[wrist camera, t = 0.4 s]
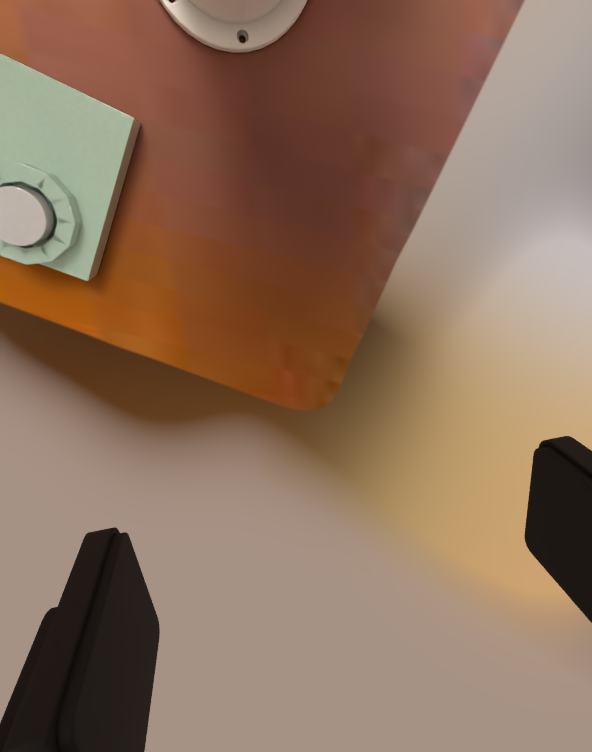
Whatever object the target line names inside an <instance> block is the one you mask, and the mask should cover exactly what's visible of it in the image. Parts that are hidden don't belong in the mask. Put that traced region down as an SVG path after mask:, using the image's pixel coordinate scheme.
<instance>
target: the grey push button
mask: <svg viewBox="0 0 592 752" xmlns="http://www.w3.org/2000/svg"><path fill="white" fill-rule="evenodd" d="M53 225H54V217H53V212H52V210H51V207H50V205H49V204H48V202H47V201H46V200H45V199H44V198H43V197H42V196H41V195H40V194H39V193H37V192H36V191H34V190H32V189H30V188H27V187H23V186H3V187H0V239H1V240H3V241H4V242H6V243H9V244H12V245H16V246H28V245H32V244H35V243H38V242H41V241H43V240H44V239H46V238H47V237H48V236H49V234H50V233H51V231H52V229H53Z"/></svg>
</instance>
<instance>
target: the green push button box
mask: <svg viewBox="0 0 592 752" xmlns="http://www.w3.org/2000/svg"><path fill="white" fill-rule="evenodd" d="M139 128H140V123H139V122H138V121H137V120H136V119H135V118H133V117H131V116H129V115H127V114H125V113H123V112H121V111H119V110H117V109H115V108H113V107H111V106H108V105H106V104H104V103H102V102H100V101H98V100H96V99H94V98H92V97H90V96H88V95H86V94H84V93H81V92H79V91H77V90H75V89H73V88H71V87H69V86H67V85H65V84H63V83H61V82H59V81H57V80H55V79H52V78H50V77H48V76H46V75H44V74H42V73H40V72H38V71H36V70H34V69H32V68H30V67H28V66H26V65H23V64H21V63H19V62H17V61H15V60H13V59H11V58H9V57H7V56H5V55H3V54H1V53H0V187H3V186H23V187H27V188H30V189H32V190H34V191H36V192H37V193H39V194H40V195H41V196H42V197H43V198H44V199H45V200H46V201H47V202H48V204H49V205H50V207H51V210H52V212H53V217H54V225H53V229H52V231H51V233H50V234H49V236H48V237H47V238H46V239H44V240H43V241H41V242H38V243H35V244H32V245H28V246H16V245H12V244H9V243H6V242H4V241H3V240H1V239H0V255H1V256H3V257H6V258H8V259H11V260H14V261H17V262H19V263H22V264H25V265H30V264H38V263H39V264H41V265H44V266H47V267H50V268H52V269H55V270H58V271H60V272H63V273H66V274H69V275H71V276H74V277H77V278H80V279H82V280H85V281H89V280H90V279H92V278H93V277H94V276H96V275H97V273H98V270H99V266H100V263H101V259H102V256H103V253H104V249H105V246H106V242H107V239H108V235H109V232H110V228H111V225H112V221H113V218H114V214H115V211H116V207H117V204H118V200H119V197H120V194H121V190H122V187H123V183H124V180H125V176H126V173H127V169H128V166H129V162H130V159H131V155H132V152H133V148H134V145H135V142H136V138H137V135H138V131H139Z"/></svg>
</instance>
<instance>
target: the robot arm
mask: <svg viewBox="0 0 592 752" xmlns="http://www.w3.org/2000/svg"><path fill="white" fill-rule="evenodd" d="M160 2H161V4H162V5H163V6H164V8H165V9H166V10H167V12H168V13H169V15H170V16H171V17H172V19H173V20H174V21H175V22H176V23H177V24H178V25H179V26H180V27H181V28H182V29H183V30H184V31H185V32H186V33H188V34H189V35H191V36H192V37H194V38H195V39H196V40H198V41H199V42H201V43H203V44H205V45H208V46H210V47H212V48H215V49H217V50H222V51H227V52H232V53H233V52H250V51H254V50H258V49H261V48H264V47H266V46H267V45H269V44H271V43H273V42H275V41H276V40H278V39H279V38H280V37H281V36H282V35H284V34H285V33H286V32H287V31H288V30H289V29H290V28H291V26H292V25H293V24H294V22H295V21H296V20H297V19H298V17H299V15H300V13H301V12H302V10H303V8H304V6H305V4H306V2H307V0H176V1H175V2H174V3H171V2H170V1H169V0H160ZM241 36H243V37H244V38H245V40H246V41H245V42H244V43H241V42H240V41H239V37H241ZM525 542H526V545H527V547H528V549H529V550H530V552H531V553H532V554H533V555H534V557H535V558H536V559H537V560H538V561H539V562H540V564H541V565H542V566H543V567H544V568H545V569H546V570H547V572H548V573H549V574H550V575H551V576H552V577H553V579H554V580H555V581H556V582H557V583H558V584H559V586H560V587H561V588H562V589H563V590H564V591H565V592H566V594H567V595H568V596H569V597H570V598H571V599H572V601H573V602H574V603H575V604H576V605H577V606H578V608H580V610H581V611H582V612H583V613H584V614H585V616H586V617H587V618H588V619H589V620H590V621H591V622H592V451H591V450H589V449H588V448H586V447H585V446H584V445H582V444H581V443H579V442H578V441H576V440H575V439H574V438H572V437H570V436H564V437H559V438H554V439H549V440H544V441H542V442H541V443H540V445H539V448H538V449H536V450H535V451H534V456H533V465H532V475H531V483H530V492H529V501H528V510H527V519H526V528H525ZM158 643H159V621H158V617H157V614H156V612H155V609H154V606H153V603H152V600H151V597H150V595H149V592H148V589H147V586H146V583H145V581H144V577H143V575H142V572H141V569H140V566H139V563H138V560H137V558H136V555H135V552H134V549H133V546H132V543H131V541H130V538H129V535H128V534H127V533H120V532H119V530H118V529H117V528H110V529H104V530H100V531H95V532H90V533H87V534H86V536H85V537H84V540H83V542H82V545H81V547H80V550H79V553H78V555H77V558H76V560H75V563H74V566H73V568H72V571H71V573H70V576H69V579H68V581H67V584H66V586H65V589H64V592H63V594H62V597H61V600H60V602H59V605H58V607H55V608H51V609H50V610H49V611H48V612H47V613H46V614H45V616H44V618H43V620H42V622H41V625H40V627H39V630H38V632H37V635H36V637H35V640H34V642H33V645H32V647H31V649H30V652H29V654H28V657H27V659H26V662H25V664H24V666H23V669H22V671H21V674H20V676H19V679H18V681H17V684H16V686H15V688H14V691H13V694H12V696H11V699H10V701H9V703H8V706H7V708H6V711H5V713H4V716H3V718H2V720H1V723H0V752H144V750H145V743H146V734H147V727H148V720H149V719H148V718H149V712H150V704H151V696H152V689H153V681H154V674H155V666H156V659H157V651H158Z"/></svg>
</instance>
